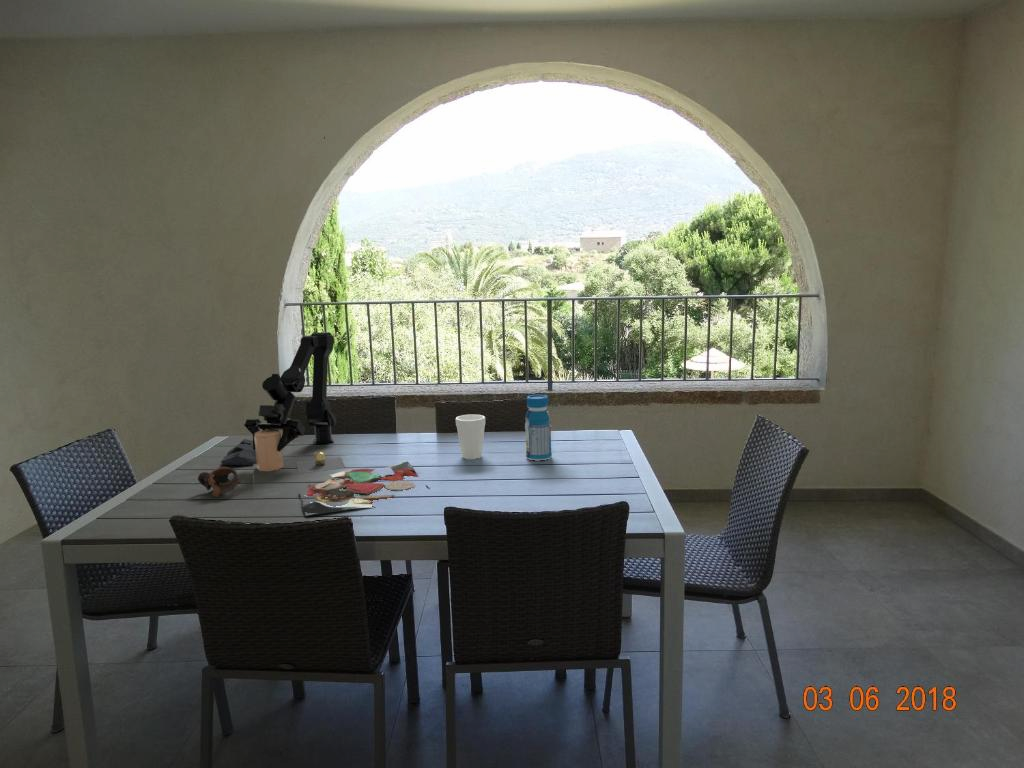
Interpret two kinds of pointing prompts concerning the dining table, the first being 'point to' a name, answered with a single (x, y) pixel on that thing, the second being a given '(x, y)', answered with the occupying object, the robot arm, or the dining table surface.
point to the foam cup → (471, 435)
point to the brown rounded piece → (219, 480)
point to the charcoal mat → (311, 466)
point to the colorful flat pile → (357, 488)
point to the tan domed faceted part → (268, 450)
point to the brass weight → (319, 458)
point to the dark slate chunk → (241, 455)
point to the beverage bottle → (538, 428)
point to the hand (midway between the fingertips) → (266, 450)
